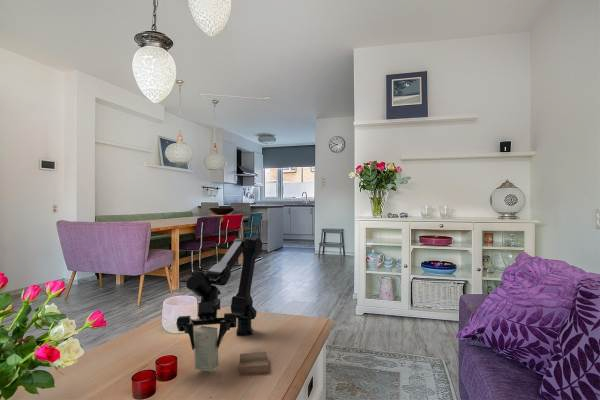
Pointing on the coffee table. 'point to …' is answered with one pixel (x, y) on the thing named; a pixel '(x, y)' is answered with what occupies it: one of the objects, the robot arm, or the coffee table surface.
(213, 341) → the skincare box
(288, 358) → the coffee table surface
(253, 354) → the walnut plinth
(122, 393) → the coffee table surface
